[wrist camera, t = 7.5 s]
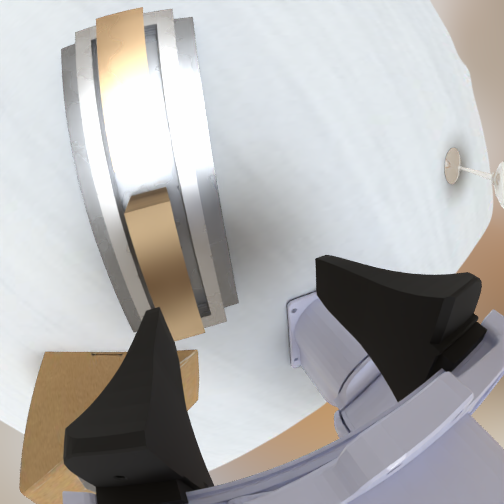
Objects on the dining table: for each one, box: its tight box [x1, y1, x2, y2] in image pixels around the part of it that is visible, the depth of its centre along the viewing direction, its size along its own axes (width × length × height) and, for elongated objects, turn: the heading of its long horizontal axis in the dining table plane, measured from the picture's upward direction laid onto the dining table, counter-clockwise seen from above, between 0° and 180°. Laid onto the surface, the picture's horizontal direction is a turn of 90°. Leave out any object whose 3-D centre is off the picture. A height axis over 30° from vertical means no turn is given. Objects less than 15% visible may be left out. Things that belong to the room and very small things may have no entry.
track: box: [61, 7, 239, 332], centre depth 15 cm, size 22×9×5 cm, turn 8°
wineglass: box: [445, 148, 504, 209], centre depth 22 cm, size 7×7×12 cm
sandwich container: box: [19, 350, 199, 504], centre depth 16 cm, size 9×15×15 cm, turn 83°
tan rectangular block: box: [124, 187, 205, 341], centre depth 16 cm, size 8×2×4 cm, turn 8°
